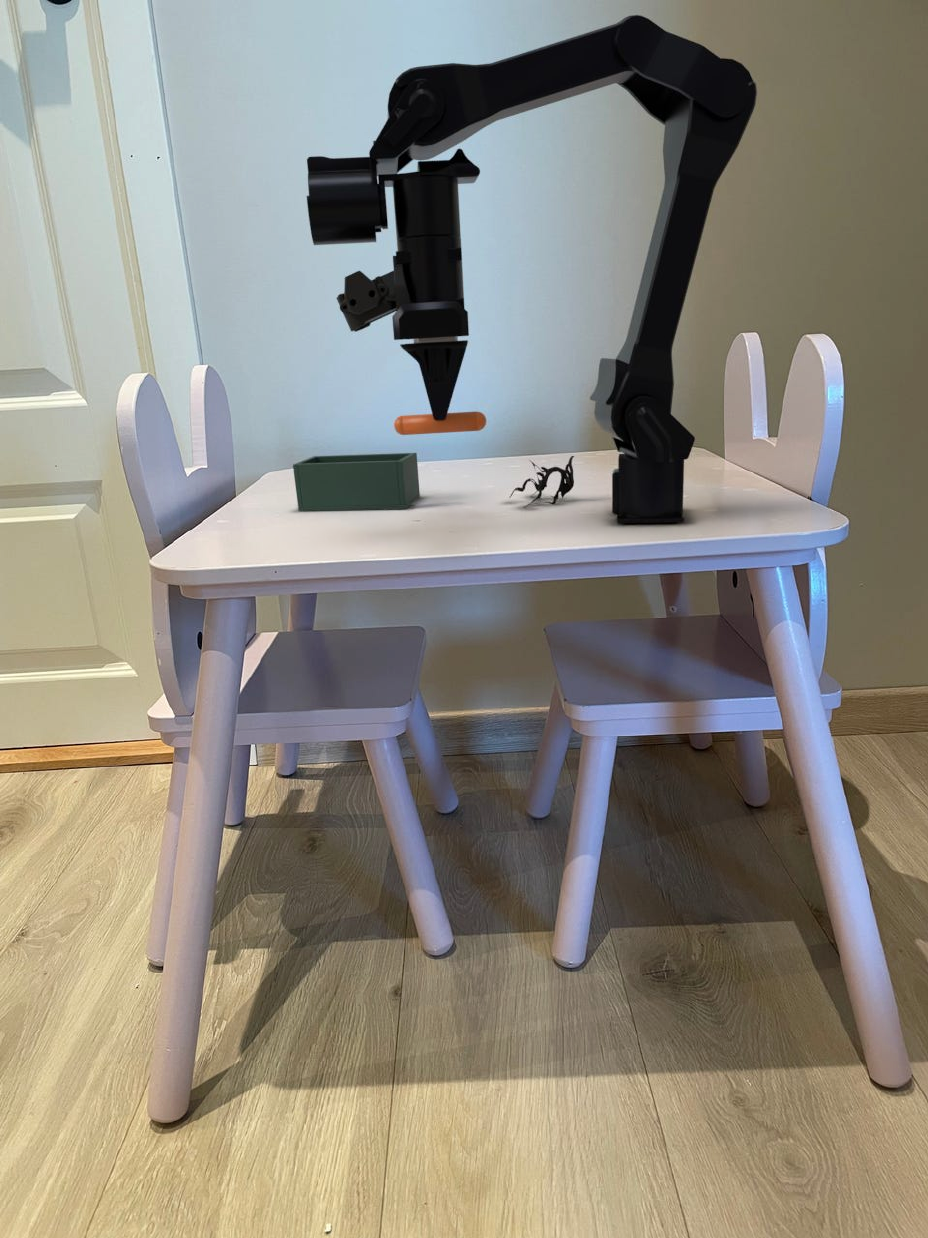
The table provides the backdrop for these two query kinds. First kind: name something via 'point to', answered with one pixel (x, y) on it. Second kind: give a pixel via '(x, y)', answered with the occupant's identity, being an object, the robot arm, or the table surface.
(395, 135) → the robot arm
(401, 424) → the orange capsule cylinder
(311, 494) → the bin
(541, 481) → the creature
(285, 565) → the table surface
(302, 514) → the table surface
